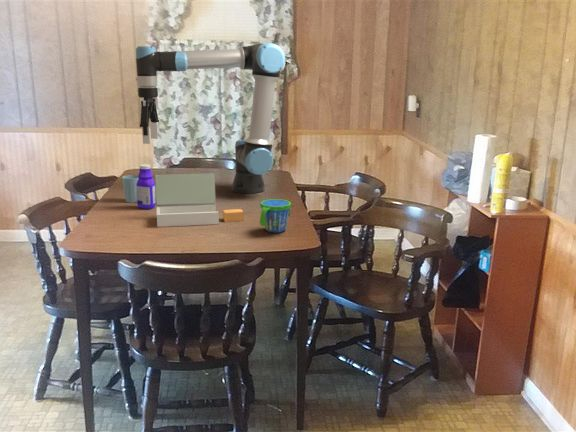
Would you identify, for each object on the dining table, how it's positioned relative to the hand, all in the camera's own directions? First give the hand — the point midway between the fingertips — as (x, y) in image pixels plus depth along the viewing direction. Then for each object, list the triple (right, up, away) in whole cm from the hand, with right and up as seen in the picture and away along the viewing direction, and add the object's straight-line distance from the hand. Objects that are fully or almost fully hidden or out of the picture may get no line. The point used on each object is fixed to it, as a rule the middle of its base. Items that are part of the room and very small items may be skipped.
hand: (150, 141), depth 235 cm
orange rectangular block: (+35, -32, -15) cm, 49 cm away
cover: (+17, -20, -15) cm, 30 cm away
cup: (-10, -24, +10) cm, 28 cm away
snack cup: (+51, -35, -27) cm, 67 cm away
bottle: (-2, -27, 0) cm, 27 cm away
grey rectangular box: (+18, -32, -17) cm, 41 cm away
